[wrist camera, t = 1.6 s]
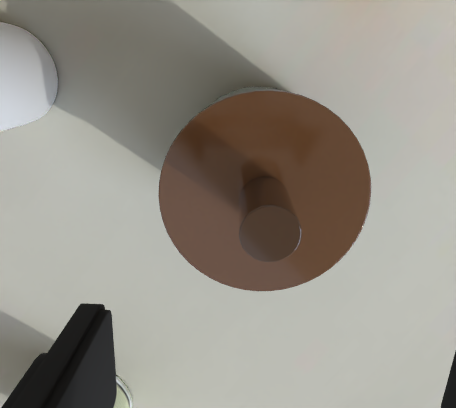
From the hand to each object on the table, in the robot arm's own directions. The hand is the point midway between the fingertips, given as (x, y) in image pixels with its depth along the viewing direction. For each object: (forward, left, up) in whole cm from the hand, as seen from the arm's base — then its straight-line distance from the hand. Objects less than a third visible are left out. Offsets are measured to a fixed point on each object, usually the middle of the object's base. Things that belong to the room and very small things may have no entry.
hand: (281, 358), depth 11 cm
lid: (0, 0, -14) cm, 14 cm away
